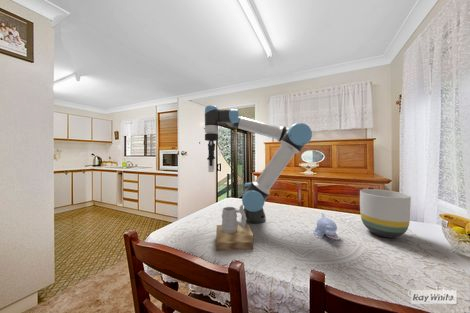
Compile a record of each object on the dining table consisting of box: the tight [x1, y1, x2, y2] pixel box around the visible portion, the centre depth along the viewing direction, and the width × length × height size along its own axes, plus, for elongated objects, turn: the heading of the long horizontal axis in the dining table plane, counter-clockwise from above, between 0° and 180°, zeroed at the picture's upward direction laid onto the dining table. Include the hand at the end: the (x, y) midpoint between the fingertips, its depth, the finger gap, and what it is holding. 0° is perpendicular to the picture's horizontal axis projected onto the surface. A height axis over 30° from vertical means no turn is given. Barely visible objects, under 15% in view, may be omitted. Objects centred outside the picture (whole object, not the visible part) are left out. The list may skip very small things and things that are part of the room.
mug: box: [220, 204, 247, 233], centre depth 80 cm, size 8×12×12 cm, turn 82°
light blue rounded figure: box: [312, 212, 341, 241], centre depth 86 cm, size 11×15×10 cm
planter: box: [359, 188, 412, 239], centre depth 88 cm, size 20×20×21 cm
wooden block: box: [215, 223, 254, 252], centre depth 81 cm, size 16×12×6 cm
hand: (211, 170), depth 99 cm, fingers open, 13 cm apart
